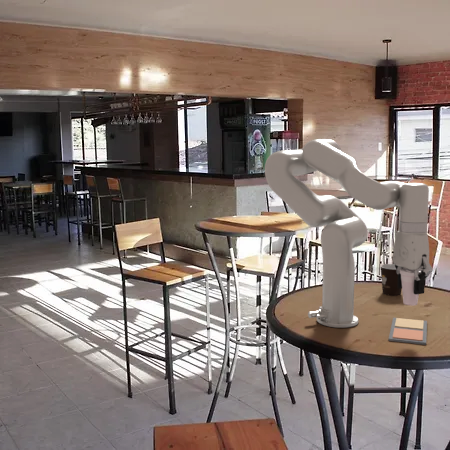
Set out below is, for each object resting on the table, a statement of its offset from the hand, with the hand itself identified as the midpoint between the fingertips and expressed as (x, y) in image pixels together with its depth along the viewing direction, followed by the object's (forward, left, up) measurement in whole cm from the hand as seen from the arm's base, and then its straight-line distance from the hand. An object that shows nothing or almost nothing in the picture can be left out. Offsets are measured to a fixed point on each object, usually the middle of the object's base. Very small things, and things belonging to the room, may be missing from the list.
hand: (410, 290), depth 163 cm
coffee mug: (+24, +38, -14) cm, 47 cm away
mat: (+3, +4, -14) cm, 15 cm away
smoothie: (0, 0, -4) cm, 4 cm away
